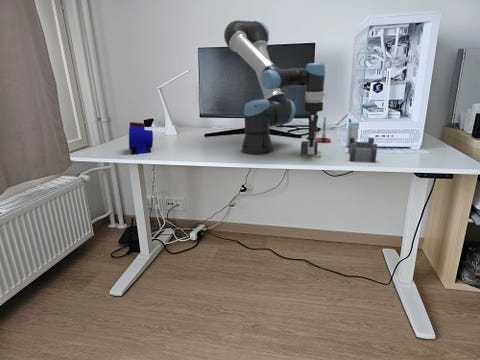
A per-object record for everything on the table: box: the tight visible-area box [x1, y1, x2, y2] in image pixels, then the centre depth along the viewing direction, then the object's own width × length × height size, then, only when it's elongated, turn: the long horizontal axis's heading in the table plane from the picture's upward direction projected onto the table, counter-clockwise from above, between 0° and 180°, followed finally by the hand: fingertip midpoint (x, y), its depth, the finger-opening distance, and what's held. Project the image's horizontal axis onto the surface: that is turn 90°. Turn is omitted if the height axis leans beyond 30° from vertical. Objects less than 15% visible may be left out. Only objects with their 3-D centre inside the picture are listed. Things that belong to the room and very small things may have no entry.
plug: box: [300, 140, 319, 156], centre depth 141 cm, size 7×5×5 cm
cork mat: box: [301, 150, 322, 159], centre depth 141 cm, size 8×8×1 cm
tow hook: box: [316, 117, 332, 144], centre depth 164 cm, size 8×13×9 cm
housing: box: [347, 137, 378, 163], centre depth 135 cm, size 10×14×7 cm
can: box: [346, 120, 359, 147], centre depth 150 cm, size 7×7×12 cm
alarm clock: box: [128, 121, 154, 156], centre depth 157 cm, size 12×12×15 cm
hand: (311, 150), depth 141 cm, fingers open, 13 cm apart
